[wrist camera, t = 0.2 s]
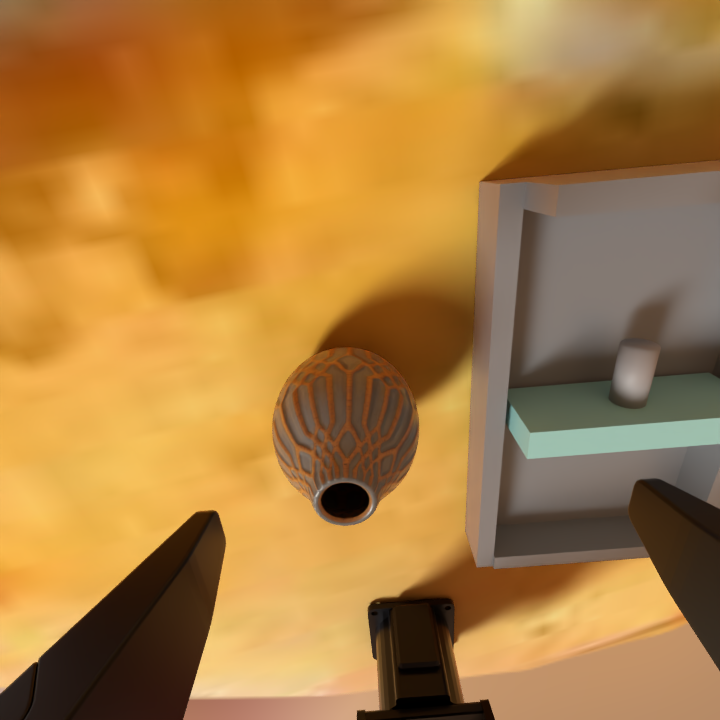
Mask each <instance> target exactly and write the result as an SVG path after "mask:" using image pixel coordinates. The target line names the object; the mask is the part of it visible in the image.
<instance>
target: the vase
mask: <svg viewBox="0 0 720 720" xmlns="http://www.w3.org/2000/svg"><path fill="white" fill-rule="evenodd" d="M272 434H273V443H274V448H275V453H276V456H277V459H278V462H279V464H280V467H281V469H282V471H283V473H284V474H285V476H286V477H287V479H288V480H289V481H290V483H291V484H292V485H293V486H294V487H295V488H296V489H297V490H298V491H299V492H300V493H301V494H303V495H304V496H305V497H306V498H308V499H309V500H310V501H311V503H312V505H313V507H314V509H315V511H316V512H317V514H318V515H319V516H320V517H321V518H322V519H324V520H325V521H327V522H329V523H332V524H335V525H342V526H348V525H355V524H358V523H361V522H363V521H365V520H366V519H368V518H369V517H370V516H371V515H372V514H373V513H374V511H375V510H376V508H377V506H378V504H379V502H380V500H382V499H383V498H384V497H386V496H387V495H388V494H389V493H390V492H392V491H393V490H394V489H395V488H396V487H397V486H398V485H399V484H400V482H401V481H402V480H403V478H404V477H405V476H406V474H407V472H408V471H409V469H410V466H411V464H412V462H413V459H414V456H415V453H416V449H417V444H418V437H419V418H418V412H417V407H416V404H415V401H414V398H413V395H412V392H411V390H410V388H409V386H408V384H407V382H406V381H405V379H404V378H403V376H402V375H401V374H400V373H399V372H398V370H397V369H396V368H395V367H394V366H393V365H392V364H390V363H389V362H388V361H386V360H385V359H384V358H382V357H381V356H379V355H377V354H375V353H373V352H370V351H367V350H364V349H359V348H353V347H340V348H333V349H329V350H325V351H322V352H320V353H318V354H316V355H314V356H312V357H310V358H309V359H307V360H306V361H305V362H303V363H302V364H301V365H300V366H299V367H298V368H297V369H296V370H295V371H294V372H293V373H292V374H291V375H290V377H289V378H288V379H287V381H286V383H285V384H284V386H283V388H282V390H281V392H280V395H279V397H278V400H277V403H276V406H275V410H274V415H273V425H272Z"/></svg>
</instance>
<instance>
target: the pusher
mask: <svg viewBox="0 0 720 720" xmlns="http://www.w3.org/2000/svg"><path fill="white" fill-rule="evenodd" d="M660 350H661V346H660V345H659V344H657V343H655V342H652V341H649V340H645V339H637V338H630V339H624V340H622V341H620V345H619V350H618V354H617V359H616V364H615V368H614V373H613V378H612V380H610V381H598V382H586V383H574V384H561V385H549V386H537V387H525V388H512V389H508V396H507V408H506V419H505V423H506V425H507V426H508V428H509V430H510V431H511V433H512V435H513V436H514V438H515V440H516V441H517V443H518V445H519V446H520V448H521V450H522V451H523V453H524V455H525V456H526V458H527V459H535V458H547V457H560V456H573V455H585V454H598V453H611V452H623V451H636V450H649V449H661V448H674V447H687V446H699V445H712V444H720V379H719V378H718V377H716V376H714V375H712V374H711V373H709V372H708V373H696V374H684V375H671V376H659V377H654V373H655V369H656V365H657V361H658V357H659V354H660Z"/></svg>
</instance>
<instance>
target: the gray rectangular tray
mask: <svg viewBox="0 0 720 720" xmlns="http://www.w3.org/2000/svg"><path fill="white" fill-rule="evenodd" d="M630 338H637V339H645V340H649V341H652V342H655V343H657V344H659V345H660V346H661V350H660V354H659V357H658V361H657V365H656V369H655V373H654V377H659V376H671V375H684V374H696V373H708V372H709V373H711V374H712V375H714V376H716V377H718V378H719V379H720V160H713V161H702V162H691V163H680V164H669V165H658V166H647V167H636V168H625V169H614V170H602V171H591V172H580V173H569V174H558V175H547V176H536V177H525V178H514V179H503V180H492V181H481V182H480V186H479V211H478V235H477V259H476V284H475V308H474V332H473V356H472V381H471V405H470V429H469V454H468V478H467V502H466V526H465V532H466V535H467V538H468V541H469V544H470V547H471V551H472V554H473V557H474V560H475V563H476V567H488V566H493V568H494V569H501V568H514V567H528V566H541V565H555V564H568V563H581V562H595V561H608V560H622V559H635V558H648V557H650V556H649V555H648V553H647V551H646V549H645V547H644V545H643V543H642V541H641V539H640V537H639V536H638V534H637V532H636V530H635V528H634V526H633V524H632V522H631V520H630V518H629V514H628V506H629V502H630V498H631V495H632V491H633V487H634V484H635V482H636V481H637V480H639V479H650V478H658V479H661V480H663V481H665V482H667V483H669V484H671V485H673V486H675V487H677V488H679V489H681V490H683V491H685V492H687V493H689V494H691V495H693V496H695V497H697V498H699V499H701V500H703V501H705V502H707V503H709V504H711V505H713V506H715V507H717V508H719V509H720V444H712V445H699V446H687V447H674V448H661V449H649V450H636V451H623V452H611V453H598V454H585V455H573V456H560V457H547V458H535V459H527V458H526V456H525V455H524V453H523V451H522V450H521V448H520V446H519V445H518V443H517V441H516V440H515V438H514V436H513V435H512V433H511V431H510V430H509V428H508V426H507V425H506V423H505V419H506V408H507V396H508V389H512V388H525V387H537V386H549V385H561V384H574V383H586V382H598V381H610V380H612V378H613V373H614V368H615V364H616V359H617V354H618V350H619V345H620V341H622V340H624V339H630Z"/></svg>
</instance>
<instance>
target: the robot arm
mask: <svg viewBox="0 0 720 720" xmlns="http://www.w3.org/2000/svg"><path fill="white" fill-rule="evenodd" d="M628 514H629V518H630V520H631V522H632V524H633V526H634V528H635V530H636V532H637V534H638V536H639V537H640V539H641V541H642V543H643V545H644V547H645V549H646V551H647V553H648V555H649V556H650V558H651V560H652V562H653V564H654V566H655V568H656V570H657V572H658V573H659V575H660V577H661V579H662V581H663V583H664V584H665V586H666V588H667V590H668V591H669V593H670V595H671V596H672V598H673V600H674V601H675V603H676V604H677V606H678V607H679V609H680V610H681V612H682V614H683V615H684V617H685V618H686V620H687V621H688V623H689V624H690V626H691V627H692V629H693V630H694V632H695V634H696V635H697V637H698V638H699V640H700V641H701V643H702V644H703V646H704V647H705V649H706V650H707V652H708V654H709V655H710V657H711V658H712V660H713V661H714V663H715V664H716V666H717V667H718V669H719V671H720V509H719V508H717V507H715V506H713V505H711V504H709V503H707V502H705V501H703V500H701V499H699V498H697V497H695V496H693V495H691V494H689V493H687V492H685V491H683V490H681V489H679V488H677V487H675V486H673V485H671V484H669V483H667V482H665V481H663V480H661V479H658V478H650V479H639V480H637V481H636V482H635V484H634V487H633V491H632V495H631V498H630V502H629V506H628ZM225 547H226V540H225V535H224V531H223V528H222V524H221V521H220V518H219V515H218V513H217V511H214V510H208V511H198V512H196V513H195V514H193V515H192V516H191V517H190V518H189V519H188V520H187V521H186V522H185V523H184V524H183V525H182V526H181V527H179V528H178V529H177V530H176V531H175V532H174V533H173V534H172V535H171V536H170V537H169V538H168V539H167V540H165V541H164V542H163V543H162V544H161V545H160V546H159V547H158V548H157V549H156V550H155V551H154V552H153V553H152V554H150V555H149V556H148V557H147V558H146V559H145V560H144V561H143V562H142V563H141V564H140V565H139V566H138V567H136V568H135V569H134V570H133V571H132V572H131V573H130V574H129V575H128V576H127V577H126V578H125V579H124V580H122V581H121V582H120V583H119V584H118V585H117V586H116V587H115V588H114V589H113V590H112V591H111V592H110V593H109V594H107V595H106V596H105V597H104V598H103V599H102V600H101V601H100V602H99V603H98V604H97V605H96V606H95V607H93V608H92V609H91V610H90V611H89V612H88V613H87V614H86V615H85V616H84V617H83V618H82V619H81V620H80V621H78V622H77V623H76V624H75V625H74V626H73V627H72V628H71V629H70V630H69V631H68V632H67V633H66V634H64V635H63V636H62V637H61V638H60V639H59V640H58V641H57V642H56V643H55V644H54V645H53V646H52V647H50V648H49V649H48V650H47V651H46V652H45V653H44V654H43V655H42V656H41V657H40V658H39V660H38V662H35V663H33V664H32V665H31V666H30V667H29V668H28V669H27V670H26V671H24V672H23V673H22V674H21V675H20V676H19V677H18V678H17V679H16V680H15V681H14V682H13V683H12V684H10V685H9V686H8V687H7V688H6V689H5V690H4V691H3V692H2V693H1V694H0V720H183V718H184V714H185V711H186V708H187V704H188V701H189V697H190V694H191V691H192V687H193V684H194V680H195V677H196V674H197V670H198V667H199V663H200V660H201V657H202V653H203V650H204V646H205V643H206V640H207V636H208V633H209V629H210V625H211V621H212V616H213V612H214V607H215V601H216V596H217V591H218V585H219V580H220V574H221V569H222V564H223V558H224V553H225ZM368 619H369V628H370V636H371V645H372V653H373V658H374V659H376V660H377V671H378V690H379V708H380V710H378V711H365V710H358V711H357V720H495V719H494V715H493V713H492V710H491V706H490V703H489V700H488V699H487V700H480V702H472V703H464V699H463V694H462V690H461V685H460V680H459V675H458V671H457V666H456V661H455V656H454V652H453V642H454V604H453V601H452V600H451V599H436V600H422V601H409V602H395V603H382V604H372V605H370V606H369V607H368Z"/></svg>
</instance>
